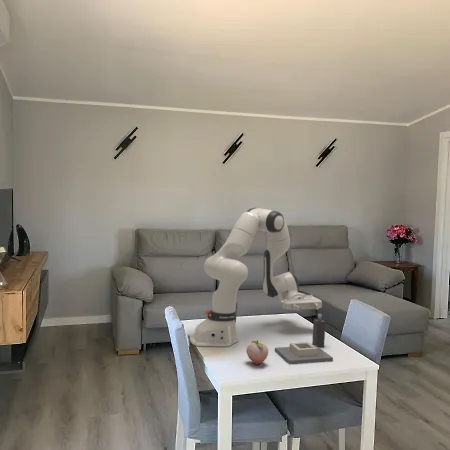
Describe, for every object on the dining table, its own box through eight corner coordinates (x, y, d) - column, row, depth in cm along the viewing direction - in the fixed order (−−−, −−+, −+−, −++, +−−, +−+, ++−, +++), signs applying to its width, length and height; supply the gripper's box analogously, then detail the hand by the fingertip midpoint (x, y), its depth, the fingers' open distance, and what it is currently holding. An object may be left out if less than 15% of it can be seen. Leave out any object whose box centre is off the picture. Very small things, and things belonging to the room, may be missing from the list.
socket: (289, 364, 192) (289, 353, 192) (274, 350, 207) (275, 341, 207) (332, 361, 198) (333, 350, 197) (315, 348, 213) (315, 338, 213)
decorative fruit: (272, 365, 190) (273, 341, 189) (256, 369, 185) (257, 344, 184) (258, 358, 198) (259, 335, 197) (242, 361, 193) (243, 337, 192)
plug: (316, 347, 214) (318, 315, 213) (312, 344, 218) (314, 313, 217) (324, 347, 215) (325, 315, 214) (320, 344, 219) (321, 312, 218)
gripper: (278, 296, 238) (289, 302, 224) (314, 294, 243) (327, 300, 230) (277, 308, 238) (288, 315, 225) (313, 306, 244) (326, 313, 231)
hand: (308, 308), depth 228 cm, fingers open, 8 cm apart
